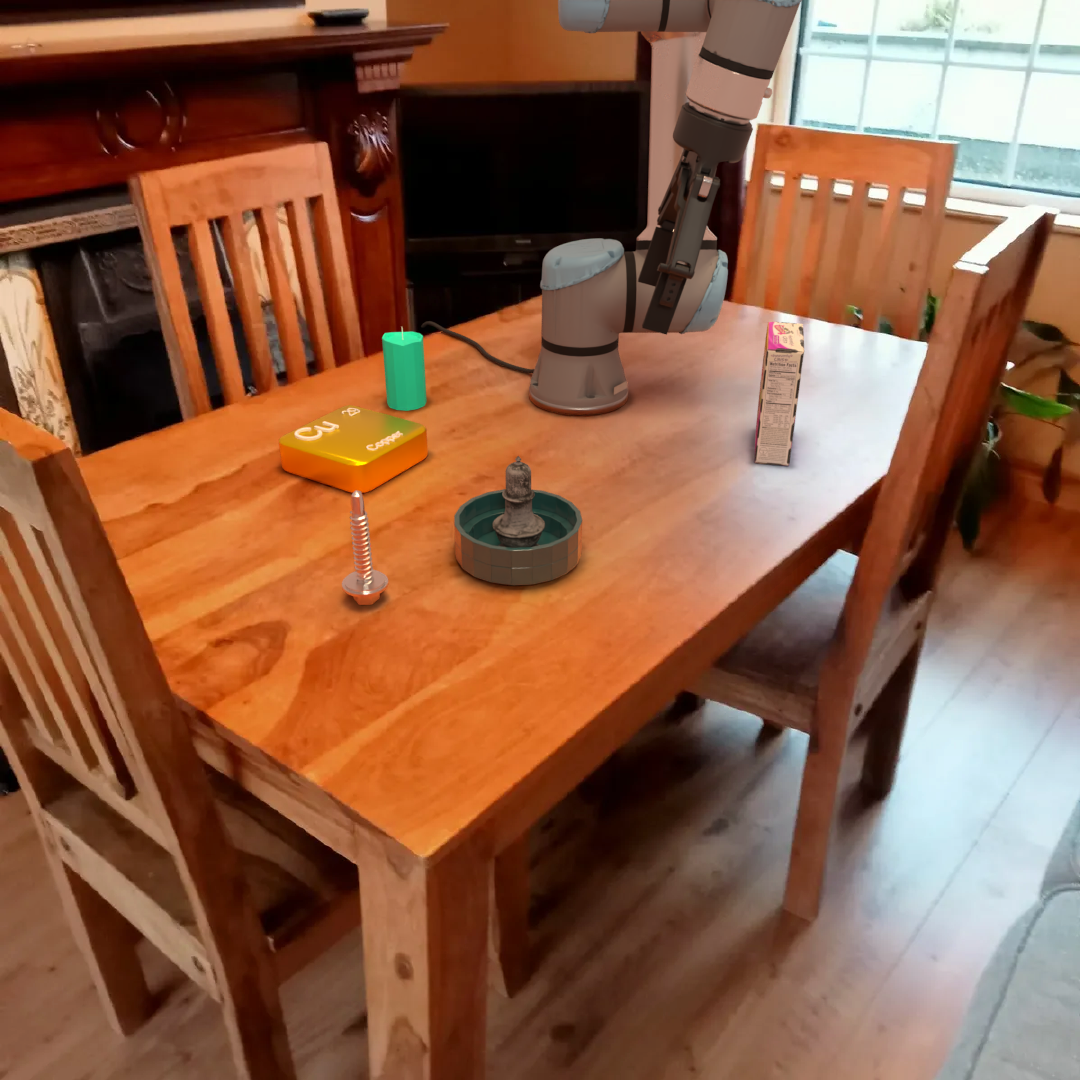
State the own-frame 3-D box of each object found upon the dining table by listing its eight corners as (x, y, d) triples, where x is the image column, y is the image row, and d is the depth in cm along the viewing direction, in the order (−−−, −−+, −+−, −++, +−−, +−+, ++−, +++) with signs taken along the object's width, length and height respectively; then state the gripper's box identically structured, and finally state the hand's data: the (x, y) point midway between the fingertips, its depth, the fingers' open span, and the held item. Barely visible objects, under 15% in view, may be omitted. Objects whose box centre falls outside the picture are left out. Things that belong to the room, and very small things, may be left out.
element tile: (361, 497, 127) (358, 463, 125) (275, 469, 134) (270, 436, 132) (434, 454, 138) (432, 422, 136) (350, 430, 145) (347, 399, 143)
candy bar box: (753, 431, 146) (767, 320, 137) (789, 434, 145) (804, 322, 137) (751, 464, 136) (766, 347, 128) (789, 467, 135) (806, 350, 127)
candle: (379, 407, 153) (373, 330, 147) (399, 393, 158) (393, 318, 152) (415, 413, 151) (410, 335, 145) (433, 398, 156) (429, 323, 150)
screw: (377, 581, 110) (397, 602, 107) (336, 594, 108) (354, 616, 105) (368, 475, 104) (388, 493, 100) (324, 486, 102) (343, 505, 98)
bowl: (430, 566, 113) (428, 527, 111) (501, 514, 124) (500, 478, 121) (538, 603, 107) (538, 563, 104) (602, 546, 117) (604, 508, 115)
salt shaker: (507, 569, 111) (505, 472, 105) (484, 545, 116) (481, 450, 110) (554, 557, 114) (555, 461, 108) (530, 534, 118) (529, 440, 112)
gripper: (772, 153, 91) (691, 361, 103) (740, 96, 112) (676, 275, 124) (693, 130, 90) (621, 342, 102) (676, 76, 111) (617, 258, 123)
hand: (651, 306), depth 113 cm, fingers open, 13 cm apart
